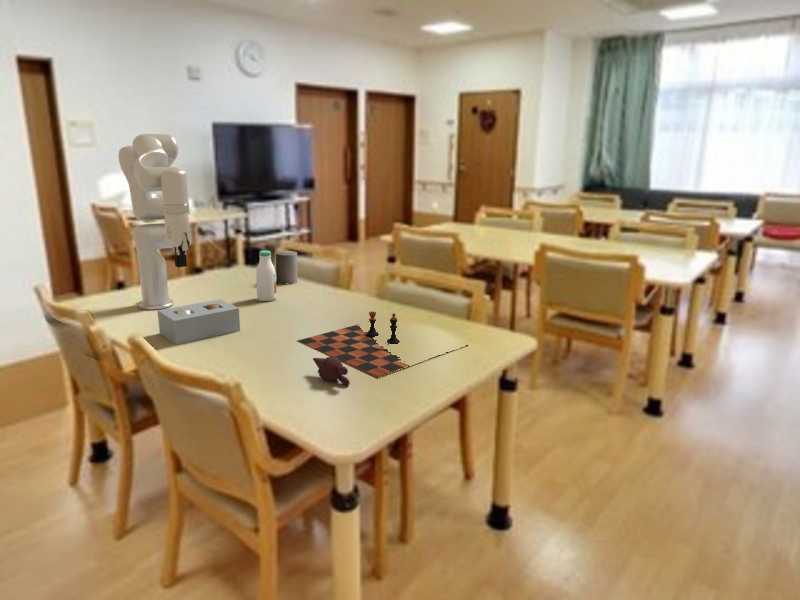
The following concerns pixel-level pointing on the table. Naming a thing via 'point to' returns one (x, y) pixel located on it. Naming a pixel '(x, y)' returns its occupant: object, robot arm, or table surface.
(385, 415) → the table surface
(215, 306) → the brown rounded cylinder
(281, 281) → the pillar candle
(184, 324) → the socket board
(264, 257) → the milk bottle
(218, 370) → the table surface
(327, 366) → the brown knobby figurine
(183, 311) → the steel peg
